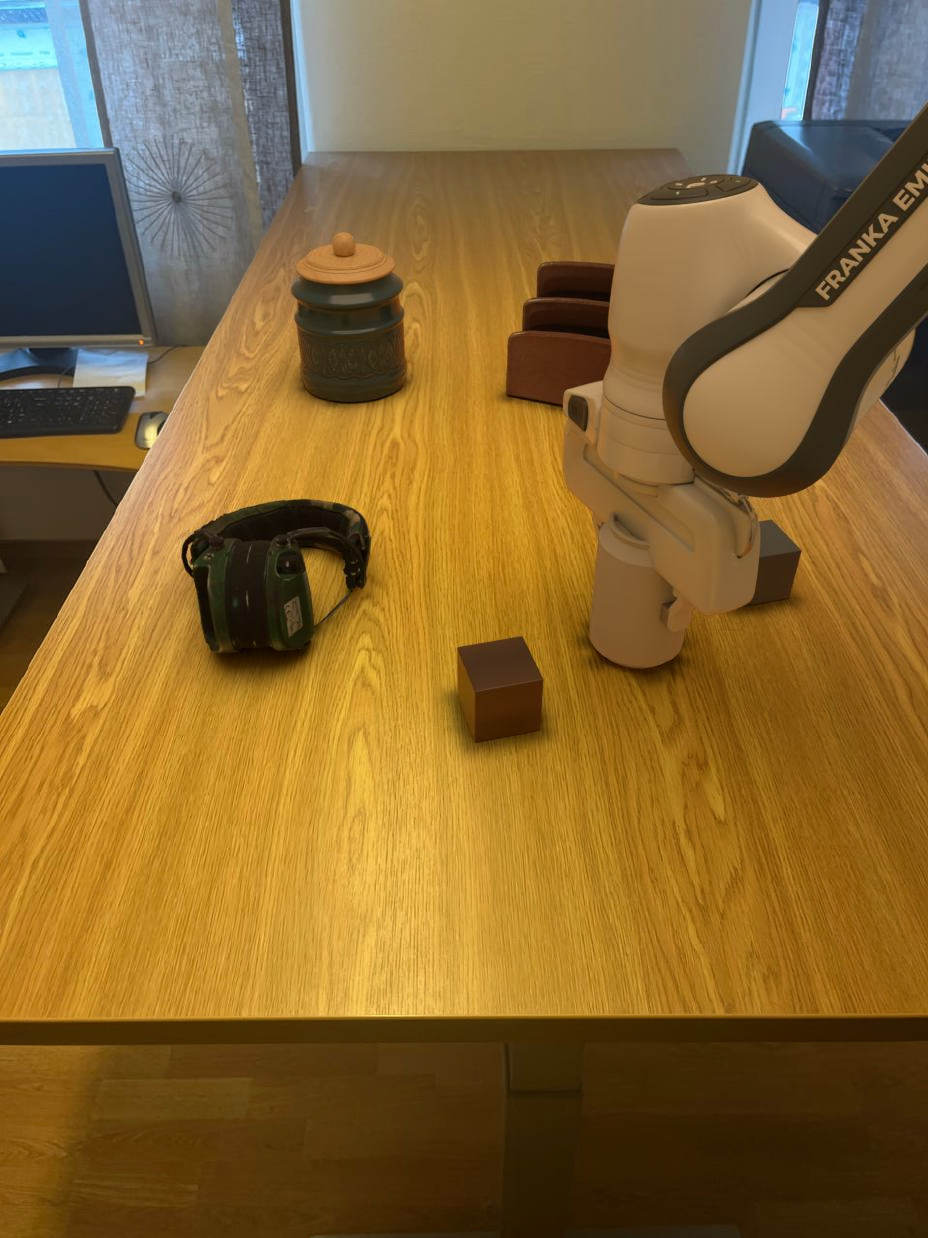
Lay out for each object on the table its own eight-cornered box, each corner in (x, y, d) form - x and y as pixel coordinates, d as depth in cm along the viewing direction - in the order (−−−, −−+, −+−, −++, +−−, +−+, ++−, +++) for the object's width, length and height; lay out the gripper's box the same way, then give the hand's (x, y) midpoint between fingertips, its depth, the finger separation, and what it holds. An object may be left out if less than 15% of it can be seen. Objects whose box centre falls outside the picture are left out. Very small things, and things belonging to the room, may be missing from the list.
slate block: (789, 598, 81) (802, 550, 78) (736, 607, 80) (747, 559, 77) (760, 566, 85) (771, 518, 82) (710, 574, 84) (719, 527, 81)
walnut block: (540, 730, 69) (544, 679, 66) (474, 743, 68) (474, 691, 65) (520, 685, 73) (522, 635, 70) (457, 697, 72) (456, 646, 69)
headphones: (389, 615, 70) (389, 511, 88) (244, 503, 65) (275, 415, 82) (276, 726, 74) (298, 605, 92) (132, 629, 69) (183, 520, 87)
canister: (330, 354, 123) (316, 212, 112) (423, 367, 119) (418, 222, 108) (283, 395, 113) (263, 244, 102) (382, 411, 110) (372, 256, 99)
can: (581, 667, 74) (593, 539, 67) (594, 610, 80) (606, 487, 73) (678, 682, 73) (701, 553, 65) (684, 623, 79) (706, 498, 71)
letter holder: (535, 365, 120) (540, 251, 111) (689, 393, 113) (707, 274, 105) (504, 396, 113) (507, 277, 104) (666, 427, 106) (684, 303, 97)
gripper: (801, 490, 58) (760, 660, 67) (623, 368, 73) (607, 520, 81) (718, 514, 56) (686, 686, 65) (551, 383, 71) (543, 538, 79)
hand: (641, 592), depth 73 cm, fingers closed on can, 7 cm apart
